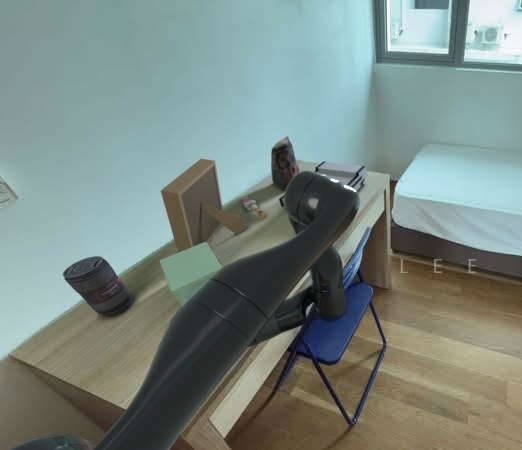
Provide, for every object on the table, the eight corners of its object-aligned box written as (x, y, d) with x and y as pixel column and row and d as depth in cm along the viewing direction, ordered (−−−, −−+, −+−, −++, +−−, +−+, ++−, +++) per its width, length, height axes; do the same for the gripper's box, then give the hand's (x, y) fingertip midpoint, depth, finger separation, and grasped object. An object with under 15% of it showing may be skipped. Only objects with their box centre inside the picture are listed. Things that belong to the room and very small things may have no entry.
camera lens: (138, 291, 87) (107, 251, 78) (134, 311, 81) (100, 270, 72) (103, 303, 84) (66, 262, 75) (96, 324, 78) (55, 282, 69)
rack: (232, 288, 86) (222, 268, 82) (185, 312, 80) (170, 291, 75) (215, 261, 96) (205, 241, 92) (172, 280, 90) (159, 260, 85)
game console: (283, 214, 117) (277, 196, 112) (326, 177, 142) (323, 161, 137) (331, 223, 111) (327, 204, 106) (367, 183, 136) (365, 166, 131)
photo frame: (181, 261, 97) (139, 191, 83) (213, 222, 115) (183, 159, 100) (228, 258, 97) (194, 189, 83) (253, 220, 115) (229, 157, 101)
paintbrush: (238, 202, 126) (260, 220, 114) (236, 196, 125) (258, 214, 113) (247, 198, 128) (269, 216, 117) (245, 193, 127) (267, 210, 115)
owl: (299, 175, 145) (289, 133, 133) (308, 185, 136) (298, 142, 124) (272, 183, 140) (259, 140, 128) (279, 194, 131) (266, 149, 119)
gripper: (249, 292, 72) (169, 319, 66) (254, 340, 61) (160, 377, 56) (259, 313, 76) (184, 340, 71) (265, 361, 66) (178, 397, 60)
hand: (174, 356), depth 63 cm, fingers open, 8 cm apart
